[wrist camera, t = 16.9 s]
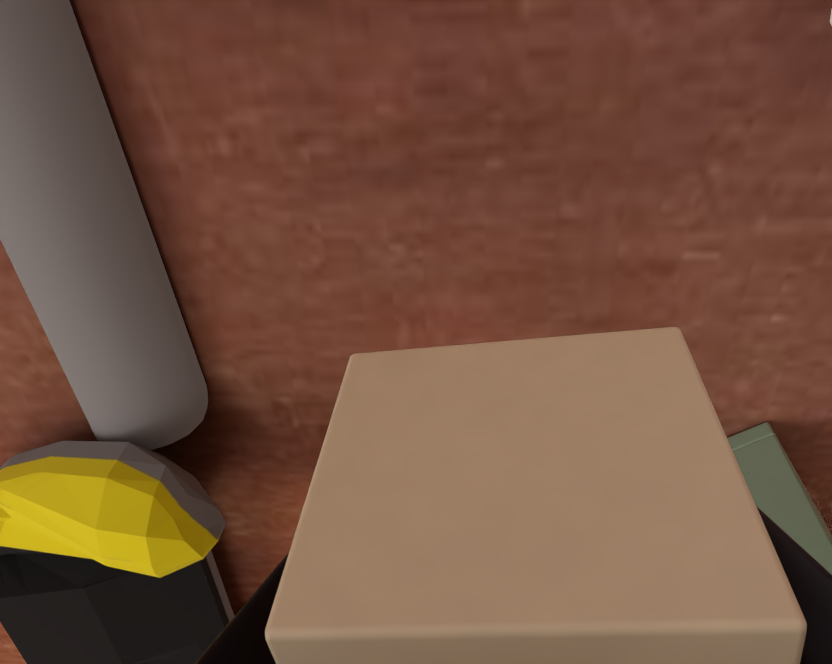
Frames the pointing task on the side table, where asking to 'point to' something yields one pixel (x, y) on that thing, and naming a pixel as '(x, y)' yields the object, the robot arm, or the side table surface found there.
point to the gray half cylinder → (87, 237)
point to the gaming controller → (108, 557)
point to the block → (531, 515)
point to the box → (781, 491)
